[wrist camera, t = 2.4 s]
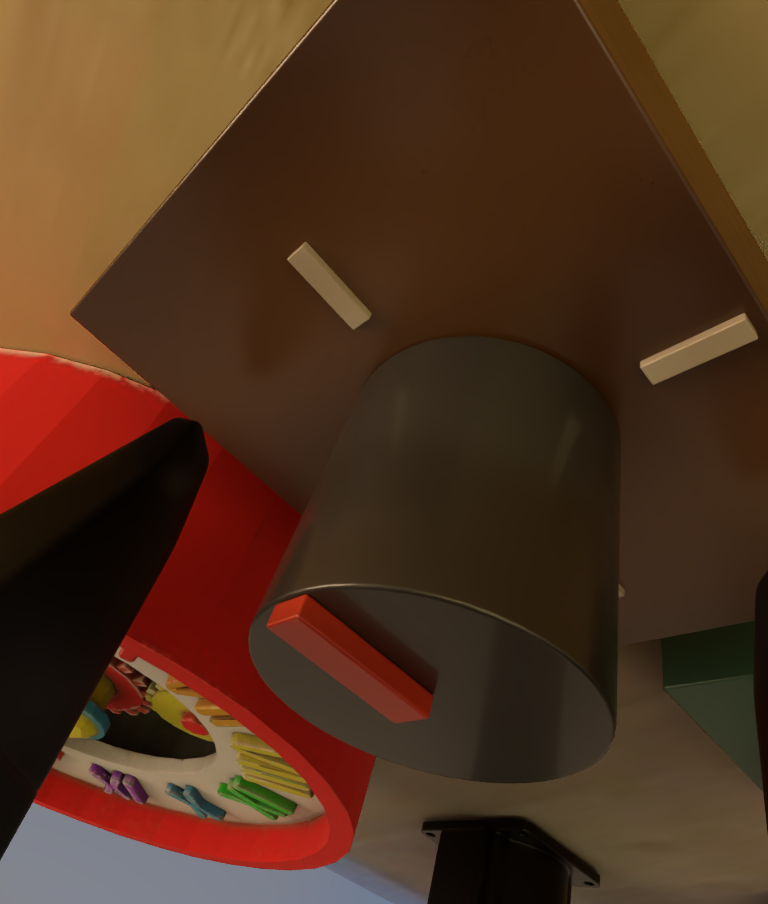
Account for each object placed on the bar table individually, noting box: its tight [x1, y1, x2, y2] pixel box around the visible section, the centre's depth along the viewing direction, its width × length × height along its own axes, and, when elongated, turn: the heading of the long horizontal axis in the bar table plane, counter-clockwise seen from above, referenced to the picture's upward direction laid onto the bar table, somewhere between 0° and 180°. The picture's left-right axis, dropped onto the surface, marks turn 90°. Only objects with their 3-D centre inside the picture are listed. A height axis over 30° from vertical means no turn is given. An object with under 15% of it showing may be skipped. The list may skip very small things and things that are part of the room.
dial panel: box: [70, 0, 768, 646], centre depth 12 cm, size 12×9×3 cm
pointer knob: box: [248, 336, 621, 783], centre depth 9 cm, size 4×4×5 cm
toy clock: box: [0, 348, 376, 870], centre depth 22 cm, size 20×6×20 cm
